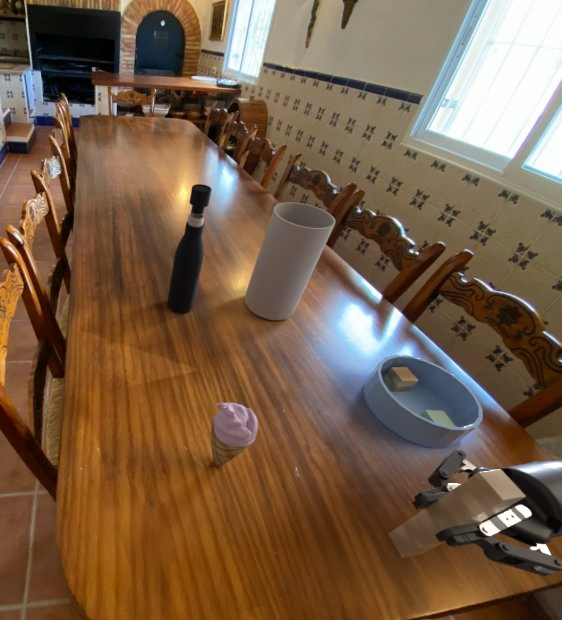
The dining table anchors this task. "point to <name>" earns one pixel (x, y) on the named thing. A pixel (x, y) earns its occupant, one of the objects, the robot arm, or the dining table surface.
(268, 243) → the cylinder vase
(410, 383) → the maple block
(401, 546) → the brown wooden bar
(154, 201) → the dining table surface
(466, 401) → the bowl
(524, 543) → the robot arm
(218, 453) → the ice cream cone
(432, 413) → the sage block
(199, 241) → the black bottle
